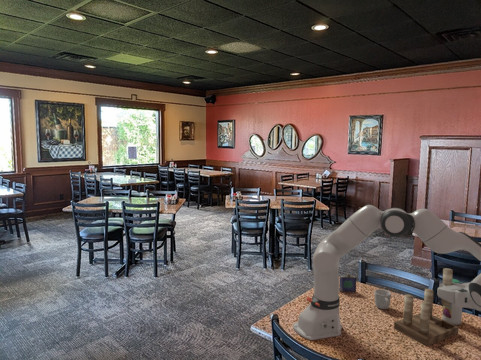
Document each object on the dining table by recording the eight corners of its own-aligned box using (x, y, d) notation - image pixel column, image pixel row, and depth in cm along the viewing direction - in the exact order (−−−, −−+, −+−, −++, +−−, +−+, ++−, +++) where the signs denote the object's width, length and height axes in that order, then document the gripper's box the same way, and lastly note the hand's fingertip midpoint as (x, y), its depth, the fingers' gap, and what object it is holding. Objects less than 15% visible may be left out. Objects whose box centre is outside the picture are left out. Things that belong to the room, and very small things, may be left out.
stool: (426, 346, 143) (428, 309, 141) (394, 328, 157) (395, 294, 156) (458, 333, 153) (460, 298, 151) (424, 317, 167) (426, 285, 165)
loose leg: (451, 307, 151) (453, 271, 149) (441, 305, 152) (443, 270, 151) (450, 304, 154) (452, 269, 153) (441, 302, 156) (442, 267, 154)
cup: (395, 313, 171) (396, 298, 170) (379, 313, 171) (380, 297, 171) (386, 303, 182) (387, 289, 181) (371, 303, 182) (372, 288, 181)
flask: (339, 292, 197) (340, 273, 196) (338, 290, 199) (339, 272, 199) (356, 292, 196) (357, 274, 195) (355, 290, 198) (355, 272, 198)
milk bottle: (458, 318, 166) (461, 278, 164) (463, 326, 159) (465, 284, 157) (440, 316, 168) (442, 276, 167) (444, 323, 161) (446, 282, 159)
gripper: (493, 286, 143) (463, 274, 156) (455, 292, 137) (427, 280, 150) (493, 301, 144) (462, 288, 157) (454, 308, 138) (426, 294, 151)
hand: (445, 284), depth 153 cm, fingers closed on loose leg, 4 cm apart
